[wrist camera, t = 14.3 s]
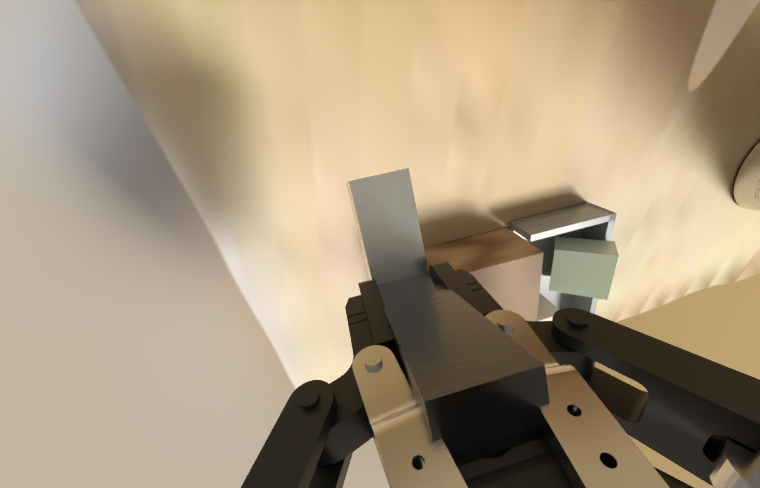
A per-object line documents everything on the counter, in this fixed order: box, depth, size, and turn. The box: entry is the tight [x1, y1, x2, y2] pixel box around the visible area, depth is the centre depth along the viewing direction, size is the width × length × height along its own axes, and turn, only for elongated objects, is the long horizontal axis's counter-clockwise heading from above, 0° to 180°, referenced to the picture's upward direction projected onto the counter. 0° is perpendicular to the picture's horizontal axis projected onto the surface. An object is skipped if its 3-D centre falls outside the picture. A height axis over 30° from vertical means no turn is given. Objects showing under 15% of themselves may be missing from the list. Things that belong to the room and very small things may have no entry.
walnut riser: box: [424, 227, 544, 321], centre depth 28 cm, size 9×13×5 cm
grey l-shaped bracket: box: [347, 168, 550, 467], centre depth 11 cm, size 2×12×10 cm, turn 10°
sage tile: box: [549, 237, 618, 300], centre depth 28 cm, size 4×4×2 cm
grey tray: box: [510, 202, 616, 314], centre depth 30 cm, size 8×14×3 cm, turn 10°
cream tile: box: [537, 293, 559, 321], centre depth 30 cm, size 4×4×2 cm
